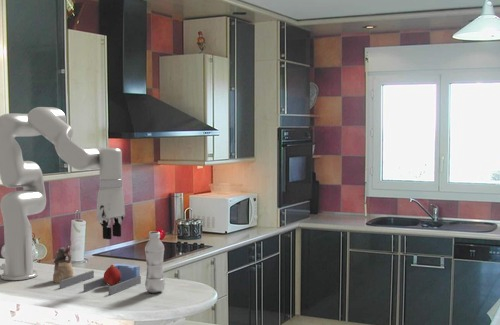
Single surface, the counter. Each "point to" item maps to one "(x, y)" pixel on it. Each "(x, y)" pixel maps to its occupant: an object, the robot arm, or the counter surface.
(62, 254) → the painted ceramic spouted vessel
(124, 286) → the grey parallel strips
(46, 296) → the counter surface
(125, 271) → the blue bracket
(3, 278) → the robot arm
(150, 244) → the plastic bottle
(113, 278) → the pomegranate
